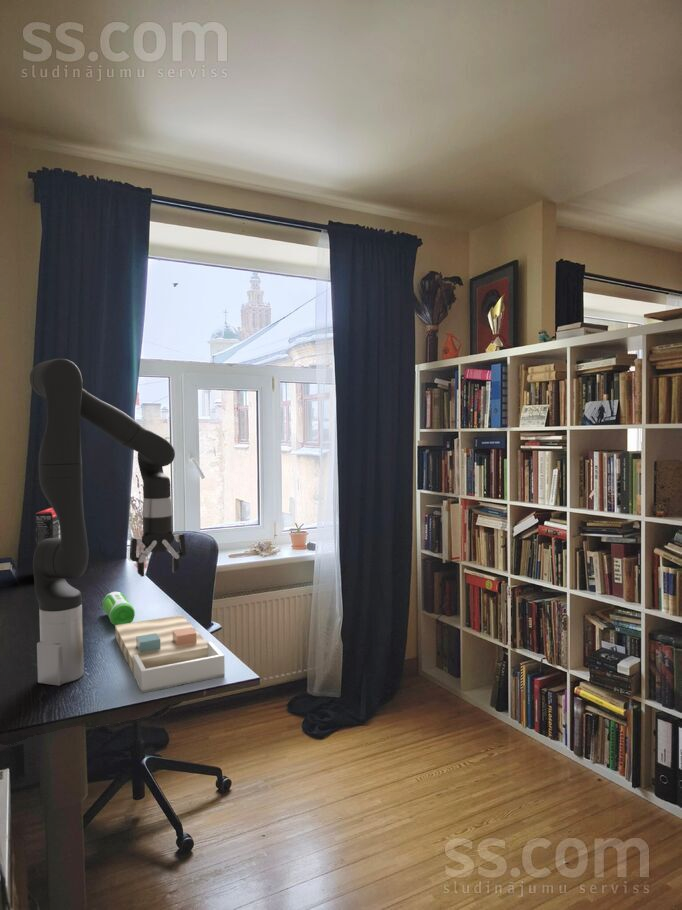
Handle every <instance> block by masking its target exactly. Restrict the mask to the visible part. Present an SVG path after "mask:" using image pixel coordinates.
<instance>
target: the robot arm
mask: <svg viewBox="0 0 682 910" xmlns="http://www.w3.org/2000/svg"><path fill="white" fill-rule="evenodd" d="M82 377H83V376H82V373H81V370H80V368H79V367H78V366H77V365H76V364H75V362H73V361H71V360H69V359H66V358H55V359H49V360H45V361H42V362H40V363H38V364H36V365H35V366H34V367H33V368H32V369H31V371H30V373H29V383H30V386H31V388H32V389H33V391H34V392H35V393H36V394H37V395H38V396H40V397H41V398H44V399H45V403H46V417H47V418H46V426H45V429H44V433H43V437H42V440H41V443H40V448H39V452H38V479H39V486H40V490H41V491H42V494H43V495H44V497H45V499H46V500H47V502H48V503H49V505H50V506H51V508H53V510H54V512H55V513H56V515H57V518H58V521H59V525H60V531H61V539H60V538H48V539H44V540H42V541H41V542H40V543H39V544H38V545H37V547H36V546H35V549H34V552H33V557H32V570H33V571H32V572H33V580H34V583H33V584H34V593H35V597H36V600H37V602H38V608H39V609H38V611H39V613H38V616H39V642H37V643H36V655H37V656H36V657H37V658H36V659H37V661H36V664H37V683H39V684H45V685H53V686H61V685H63V684H68V683H71V682H73V681H77V680H78V679H80V678H81V677H83V675H84V674H85V672H84V671H85V670H84V668H85V667H84V638H83V637H84V636H83V635H84V634H83V598H82V597H83V596H82V592H81V591H80V590H79V589H77V588H76V587H73V585H71V584H70V583H68V582H67V581H68V580H66V579H73V580H74V579H78V578H80V577H82V576H83V575H84V574H85V572H86V570H87V567H88V564H89V555H90V554H89V545H88V544H89V542H88V536H87V535H88V534H87V529H86V521H85V515H84V514H85V512H84V500H83V499H84V497H83V496H84V495H83V457H82V437H81V435H82V434H81V433H82V431H81V418H82V419H83V420H85V421H86V422H88V423H89V424H91V425H93V426H94V427H96V428H97V429H98V430H100V431H101V432H102V433H104V434H106V435H107V436H108V437H110V438H111V439H113V440H114V441H115V442H117V443H118V444H120V445H121V446H122V447H124V448H126V449H129V450H131V451H132V450H133V451H135V452H137V462H138V468H139V472H140V477H141V479H142V483H143V487H142V489H143V490H142V491H143V493H142V494H143V495H142V499H143V500H142V501H143V502H142V511H141V514H142V536H141V537H134V536H132V537H130V543H129V544H130V545H129V559H130V560H131V561H132V562H136V563H137V564H136V566H137V568H136V569H137V570H136V571H137V574H138V575H140V577H145V562H144V561H145V560H146V558H147V557H148V556H149V555H150V553H153V554H155V553H158V552H160V553H162V552H163V553H165V552H166V551H167V552H168V553H169V554H171V556H172V557H171V567H172V568H171V571H172V573H174V574H175V573H178V571H179V568H180V567H179V566H180V565H179V563H180V560H179V559H180V558H181V557H184V556H186V554H187V551H186V540H185V535H184V533H181V532H179V533H177V534H173V507H172V505H173V503H172V498H171V495H172V494H171V480H170V477H169V476H167V475H166V474H165V473H164V468H163V467H167V466H169V465H170V464H172V463H173V461H174V459H175V457H176V453H175V448H174V447H173V445H172V444H171V442H169V441H168V440H167V439H165V438H164V437H162V436H161V435H159V434H157V433H155V432H153V431H152V430H149V429H147V428H146V427H144V426H142V425H141V424H140V423H139V422H138V421H136V420H135V419H133V418H132V417H131V416H129V415H128V414H127V413H125V412H124V411H122V410H121V409H119V408H117V407H115V406H113V405H111V404H109V403H107V402H105V401H103V400H101V399H99V397H96V396H94V395H93V394H91V393H90V392H88V391H87V390H86V389H84V388H83V378H82ZM174 540H175V541H176V542H177V543H178V544H177V545H178V551H176V550H175V549H174V548H173V546H171V545H172V543H173V541H174ZM140 543H141V544H143V545H144V547H143V548H142V549H141V551H140V553H139V555H138V556H137V552H138V551H137V547H139V546H140Z"/></svg>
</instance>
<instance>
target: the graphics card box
mask: <svg viewBox="0 0 682 910" xmlns="http://www.w3.org/2000/svg"><path fill="white" fill-rule="evenodd" d="M34 516H35V548H36V547H37V545H38V544H39V543H40V542H41V541H42V540H44V539H48V538H60V539H61V531H60V525H59V521H58V518H57V515H56V513H55V512H54V510H53V508H52V507H49V508H45V509H43V510H41V511H38V512H36V513H35V515H34Z"/></svg>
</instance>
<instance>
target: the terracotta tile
mask: <svg viewBox="0 0 682 910" xmlns="http://www.w3.org/2000/svg"><path fill="white" fill-rule="evenodd" d="M173 641H174V642H175V644H176V645H177V646H179V645H185V644H191V643H196V642H197V638H196V632H195V631H194V630H193V629H192V627H191V628H185V629H179V630H173Z"/></svg>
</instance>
